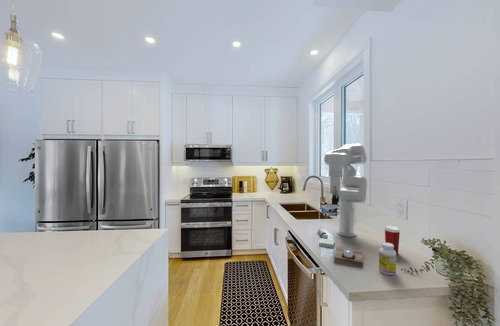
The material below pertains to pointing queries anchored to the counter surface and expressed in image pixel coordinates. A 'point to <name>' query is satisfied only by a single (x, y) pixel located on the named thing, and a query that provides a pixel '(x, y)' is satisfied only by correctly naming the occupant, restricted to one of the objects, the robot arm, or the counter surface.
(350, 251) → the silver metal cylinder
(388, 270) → the supplement bottle
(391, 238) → the paper cup
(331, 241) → the tab
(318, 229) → the torpedo
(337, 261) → the walnut flange plate
